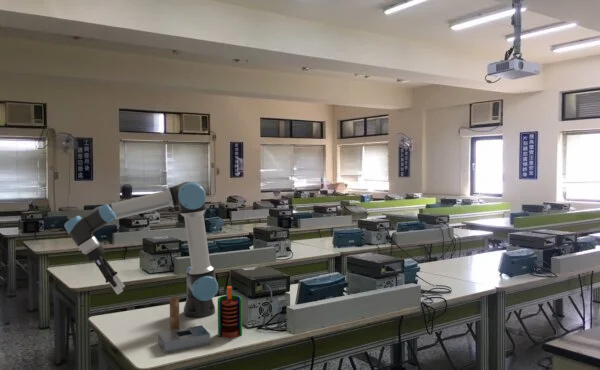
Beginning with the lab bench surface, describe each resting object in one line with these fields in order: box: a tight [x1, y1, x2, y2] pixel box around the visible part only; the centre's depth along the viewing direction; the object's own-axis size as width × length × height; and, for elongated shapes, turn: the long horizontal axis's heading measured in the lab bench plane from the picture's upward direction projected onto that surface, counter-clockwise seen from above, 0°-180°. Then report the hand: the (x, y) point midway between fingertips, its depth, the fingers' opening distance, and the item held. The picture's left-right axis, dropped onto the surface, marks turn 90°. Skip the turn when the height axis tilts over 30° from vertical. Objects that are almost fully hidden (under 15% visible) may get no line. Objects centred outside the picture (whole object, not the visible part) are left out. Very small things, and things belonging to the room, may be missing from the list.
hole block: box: [157, 324, 211, 354], centre depth 195 cm, size 18×12×4 cm, turn 117°
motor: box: [217, 285, 243, 339], centre depth 206 cm, size 10×9×20 cm
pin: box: [169, 296, 181, 331], centre depth 209 cm, size 4×4×15 cm
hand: (121, 290), depth 207 cm, fingers open, 13 cm apart
